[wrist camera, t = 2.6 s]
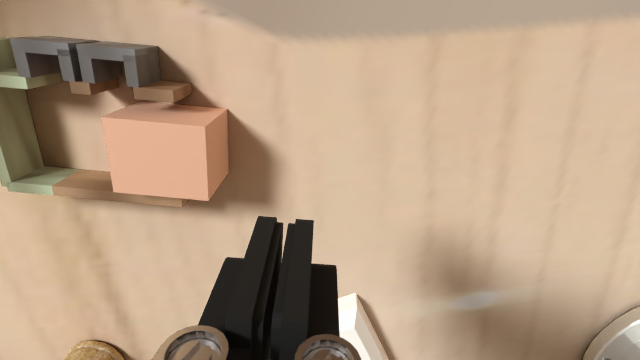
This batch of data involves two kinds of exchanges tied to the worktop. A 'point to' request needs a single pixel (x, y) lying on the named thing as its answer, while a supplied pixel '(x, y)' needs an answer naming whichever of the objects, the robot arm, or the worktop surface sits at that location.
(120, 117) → the block
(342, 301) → the white flat block
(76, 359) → the sprinkles bottle
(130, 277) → the worktop surface
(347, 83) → the worktop surface
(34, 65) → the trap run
